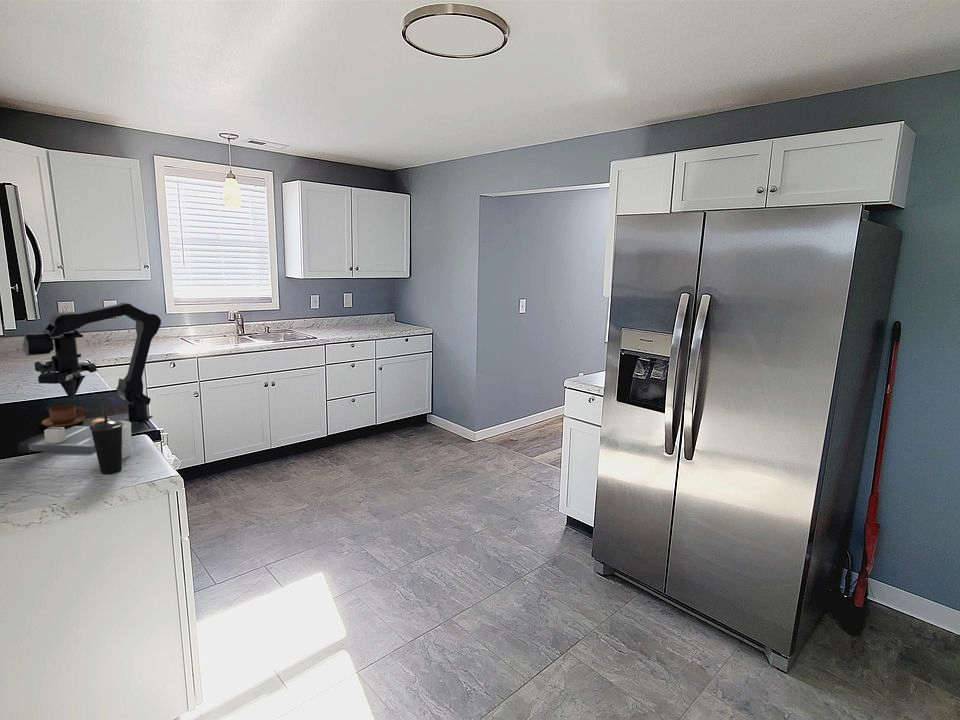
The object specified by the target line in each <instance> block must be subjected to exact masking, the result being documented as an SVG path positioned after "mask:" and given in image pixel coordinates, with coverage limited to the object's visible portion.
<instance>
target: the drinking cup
mask: <svg viewBox="0 0 960 720" xmlns="http://www.w3.org/2000/svg"><path fill="white" fill-rule="evenodd" d="M102 410H103V411H102V412H103V417H104V421H100V422H98V423H96V424H94V425H92V424H91V425H90V430H91V432H92V436H93V440H94V445H95V449H96V451H95V453H96V458H97V461H98V465H99V470H100V473H101V474H102V475H107V476H108V475H114V474H115V475H116V474H118V473H120V472H121V471H122V467H123V466H122V464H123V463H122V461H123V459H122V426H123V423H122V422H120V421H121V420H116V419H115V420H114V419H111V420H107V419H108V413H107V404H106V402H103V403H102Z"/></svg>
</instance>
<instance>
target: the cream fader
mask: <svg viewBox="0 0 960 720" xmlns="http://www.w3.org/2000/svg"><path fill="white" fill-rule="evenodd" d="M65 430H66V428H65V427H47V428H46V429H44V430H43V432H44V439H45V442H46V443H60V442H62V441H64V440H66V435H65Z"/></svg>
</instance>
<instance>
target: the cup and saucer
mask: <svg viewBox="0 0 960 720" xmlns="http://www.w3.org/2000/svg"><path fill="white" fill-rule="evenodd" d="M78 410H81V412H80V413H77V411H78ZM48 413H49V417H47V418H45V419H43V420H42V421H41V424H42V425H43V426H45V427H47V428H51V427H64V428H65V427H72V426H76V425H77V424H79V423H82V422H83V421H84V420H85V418H86V416H85V415H84V413H85V409H84V408H83V407H81V406H77V407H76V405H74V404H60V405H55V406H51V407H49V408H48Z"/></svg>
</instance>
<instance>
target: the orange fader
mask: <svg viewBox="0 0 960 720" xmlns="http://www.w3.org/2000/svg"><path fill="white" fill-rule="evenodd" d="M107 420H112V419H111V418H107ZM100 421H104V418H102V417H101V418H100V417H99V418H95V419H94V420H91V425H94V424H96V423H98V422H100Z"/></svg>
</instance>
